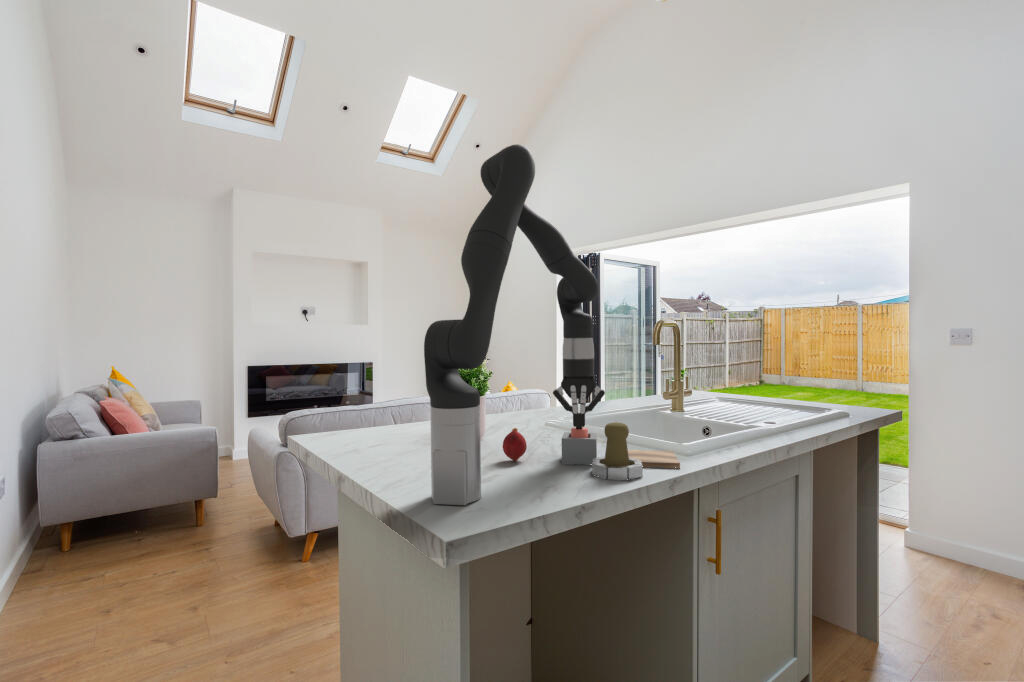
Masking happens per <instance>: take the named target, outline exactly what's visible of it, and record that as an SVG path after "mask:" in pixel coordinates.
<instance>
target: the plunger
mask: <svg viewBox="0 0 1024 682" xmlns="http://www.w3.org/2000/svg"><path fill="white" fill-rule="evenodd" d="M570 432H571V438H588V433H589V429H588V428H587V427H582V429H576V427H571V428H570Z"/></svg>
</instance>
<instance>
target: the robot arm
mask: <svg viewBox="0 0 1024 682" xmlns="http://www.w3.org/2000/svg"><path fill="white" fill-rule="evenodd" d="M535 175H536V162H535V158H534V157H533V154H532V153H531V151H530V150H529V149H528V148H527V147H526V146H524V145H521V144H511V145H508V146H506V147H504V148H502V149H501V150H500V151H498V152H497V153H495V154H493V155H491V156H490V157H489V158H488V159H486V160H484V162H483V163H482V164H481V167H480V178H481V182H482V184H483V186H484V188H485V190H486V191H487V192H488V194H489V195H490V196H491V197H490V199H489V200H488V202H487V203H486V204H485V206H484V207H483V209H481V212H480V213H479V214H478V215H477V217H476V218H475V221H474V222H473V224H472V225H471V227H470V229H469V231H468V234H467V236H466V239H465V243H464V246H463V248H462V253H461V258H460V262H461V268H462V272H463V275H464V278H465V280H466V283H467V286H468V289H469V290H468V291H469V299H468V304H467V308H466V311H465V314H464V316H463V318H462V319H442V320H436V321H434V322H432V323H431V324H430V325H429V326H428V328H427V330H426V333H425V335H424V336H425V337H424V342H423V354H424V355H423V358H424V370H425V372H424V374H425V387H426V391H427V393H428V397H429V401H430V402H429V404H430V463H431V464H430V469H431V471H430V477H431V478H430V479H431V500H432V504H434V505H447V506H448V505H453V506H467V505H468V504H470V503H473V502H475V501H478V500H480V499H481V497H482V468H481V467H482V466H481V464H482V462H481V458H482V457H481V397H480V395H481V394H480V391H479V390H478V389H477V388H476V387H474V386H472V385H470V384H468V383H467V382H466V381H465V380H464V379H462V377H461V374H460V370H473V369H474V370H475V369H477V368H479V367H480V366H482V364H483V363H484V361H485V359H486V357H487V354H488V352H489V348H490V343H491V339H492V333H493V325H494V319H495V312H496V307H497V304H498V299H499V298H498V297H499V295H500V291H501V290H500V289H501V285H502V283H503V280H504V279H503V278H504V275H505V271H506V269H507V265H508V261H509V258H510V254H511V251H512V248H513V247H512V246H513V242H514V239H515V234H516V231H517V227H518V229H520V231H521V232H522V233H523V234H524V235H525V237H526V238H527V239H528V241H529V242H530V243H531V245H532V246H533V248H534V250H535V251H536V253H537V254H538V256H539V258H540V259H541V260H542V262H543V264H544V265H545V267H546V268H547V270H548V271H549V272H550V273H552V274H554V275H559V276H561V277H562V278H561V279H560V280H559V282H558V284H557V287H556V298H557V302H558V303H557V304H558V306H559V311H560V314H561V317H562V321H563V322H562V323H563V327H562V328H563V329H562V330H563V339H562V341H563V342H562V381H561V382H560V386H558V387H557V388H555V389H554V390H553V391H552V395H553V396H554V397H555V398H556V399H557V401H558V402H559V404H561V406H562V408H564V410H565V411H567V412H570V413H572V425H573V428H575V427H576V429H582V427H583V428H585V425H586V413H588V412H592V411H593V410H594V409H595V407H596V406H597V405H598V404H599V402H600V401H601V400H602V398H603V397H604V396H605V394H606V393H605V390H604V389H601V388H600V386H598V385H597V381H596V379H595V347H594V346H595V345H594V335H593V334H594V332H593V331H594V330H593V326H594V325H593V317H592V315H590V314H588V313H585V312H584V311H583V306H582V304H585V303H590V302H592V301H594V300H595V299H596V298H597V296H598V294H599V283H598V279H597V278H596V276H595V274H594V273H593V272H592V271H591V270H590V268H589V267H588V266H587V265H586V264H585V263H584V262H583V261H582V260H581V259H580V258H579V257H578V256H576V255H575V253H574V252H573V250H572V248H571V246H570V245H569V243H568V241H567V239H566V238H565V237H564V235H563V234H562V232H561V231H560V230H559V229H558V228H557V227H556V226H555V224H553V223H552V222H550V221H549V220H548V219H546V218H545V217H543V216H542V215H540V214H538V213H537V212H536V211H534V210H533V209H532V208H531V207H530V206H529V205H528V204H527V203H526V200H527V197H528V195H529V193H530V190H531V187H532V186H533V182H534V180H535ZM564 392H565V393H564ZM592 393H594V398H592V400H591V401H590V403H589V404H586V403H587V399H588V398H589V397H590V396H591V395H592ZM564 394H566V395H567V397H569V398H570V399H571V405H570V403H569V402H568V401H567V399H566V398H565V397H564V396H563V395H564ZM579 399H580V400H579ZM578 400H579V401H580V403H579V402H578ZM578 403H579V404H580V405H579V404H578Z"/></svg>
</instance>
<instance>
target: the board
mask: <svg viewBox="0 0 1024 682" xmlns="http://www.w3.org/2000/svg"><path fill="white" fill-rule="evenodd" d="M628 456H629V457H630V458H634V459H638V460H640V461H641V462H642V466H643V467H642V468H649V467H663V468H662V469H681V463H680V461H679V460H678V457H677V456H676V455H675V453H674V451H671V450H646V449H645V450H639V449H628ZM675 467H676V468H675Z"/></svg>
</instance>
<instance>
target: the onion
mask: <svg viewBox="0 0 1024 682" xmlns="http://www.w3.org/2000/svg"><path fill="white" fill-rule="evenodd" d="M527 447H528V446H527V440H526V439H525V437H524V435H523V434H521V433H520V432H519V431H518V428H517V427H513V428H512V429H511V432H509V433H508V434H507V435H506V436H505V437H504V439H503V442H502V451H503V453H504V454H505V456H506V457H507V458H508V459H510V460H512V461H513V462H516V461H518V460H519V459H520V458H521V457H522V456H524V454H525V453H526V451H527Z"/></svg>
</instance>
